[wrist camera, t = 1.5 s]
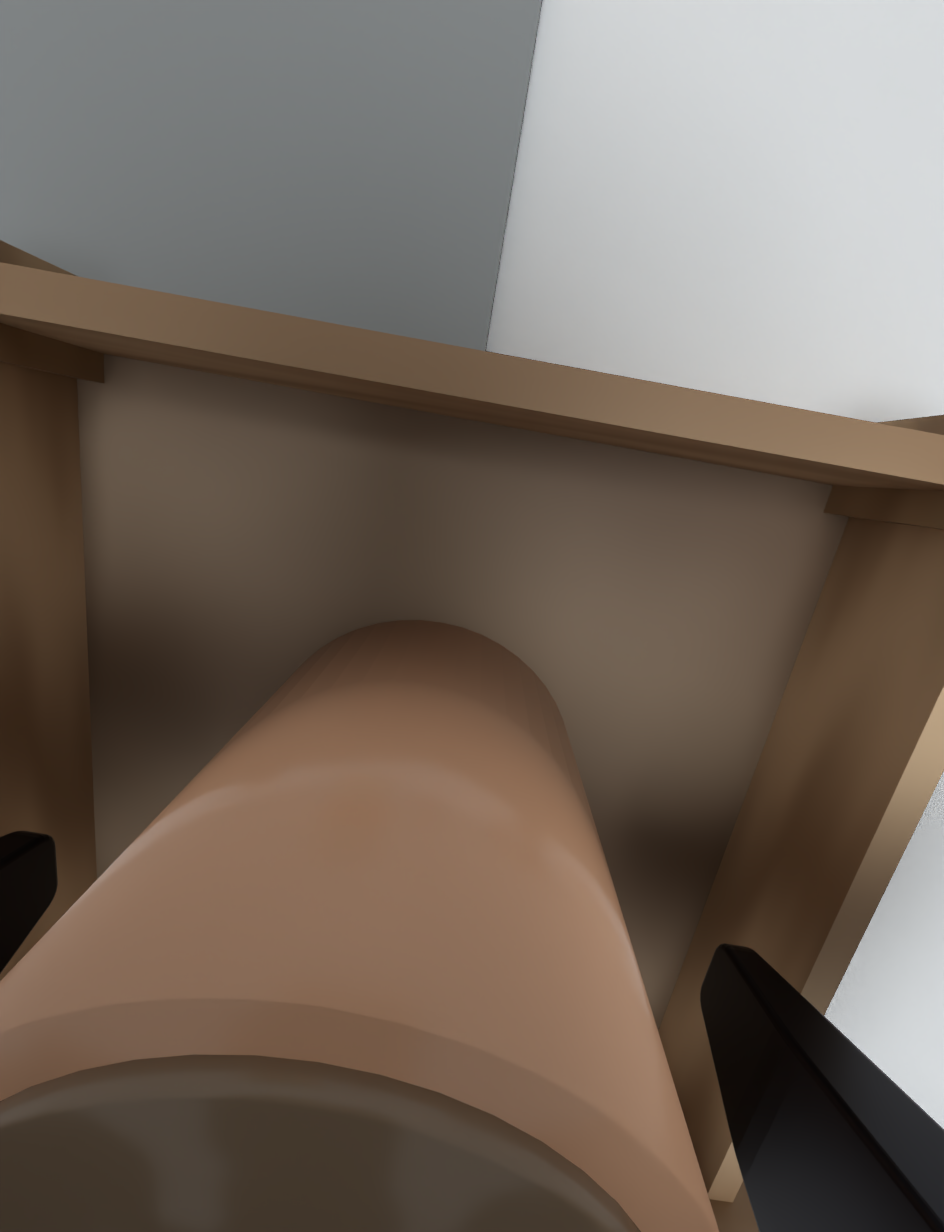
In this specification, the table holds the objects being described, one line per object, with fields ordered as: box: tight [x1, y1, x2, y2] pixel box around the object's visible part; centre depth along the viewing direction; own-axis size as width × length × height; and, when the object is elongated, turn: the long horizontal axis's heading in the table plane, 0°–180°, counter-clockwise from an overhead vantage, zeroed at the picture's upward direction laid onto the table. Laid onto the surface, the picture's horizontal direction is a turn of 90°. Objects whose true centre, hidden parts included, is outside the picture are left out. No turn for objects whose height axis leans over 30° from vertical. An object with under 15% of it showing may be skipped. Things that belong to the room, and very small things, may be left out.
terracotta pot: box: [0, 620, 719, 1232], centre depth 7 cm, size 6×6×7 cm
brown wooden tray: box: [0, 240, 944, 1232], centre depth 9 cm, size 15×15×4 cm
